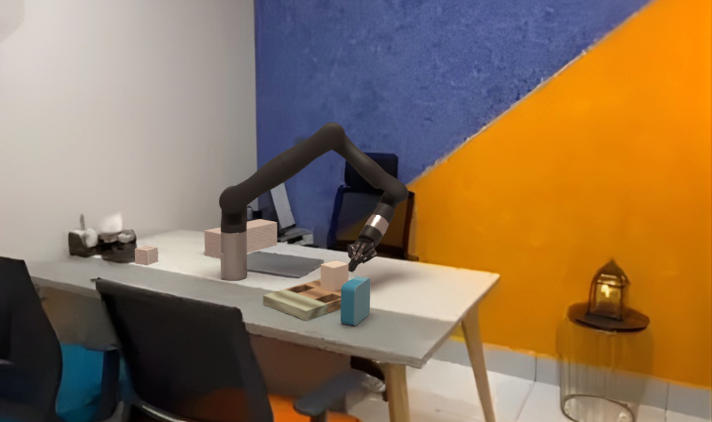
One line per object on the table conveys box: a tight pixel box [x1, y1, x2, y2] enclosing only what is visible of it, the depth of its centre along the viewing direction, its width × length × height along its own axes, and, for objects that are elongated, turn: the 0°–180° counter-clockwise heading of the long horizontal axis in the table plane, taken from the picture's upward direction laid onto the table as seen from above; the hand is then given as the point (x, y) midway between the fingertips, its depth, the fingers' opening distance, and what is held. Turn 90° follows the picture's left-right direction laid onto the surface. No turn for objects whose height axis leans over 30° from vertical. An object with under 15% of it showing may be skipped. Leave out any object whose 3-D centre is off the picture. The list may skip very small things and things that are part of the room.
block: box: [320, 260, 349, 292], centre depth 195 cm, size 7×6×8 cm
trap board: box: [262, 278, 341, 321], centre depth 190 cm, size 26×20×3 cm
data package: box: [340, 275, 372, 327], centre depth 175 cm, size 12×4×12 cm, turn 157°
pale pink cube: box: [134, 245, 159, 266], centre depth 231 cm, size 6×6×6 cm
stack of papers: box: [203, 218, 278, 260], centre depth 253 cm, size 32×11×11 cm, turn 144°
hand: (349, 270), depth 200 cm, fingers closed
